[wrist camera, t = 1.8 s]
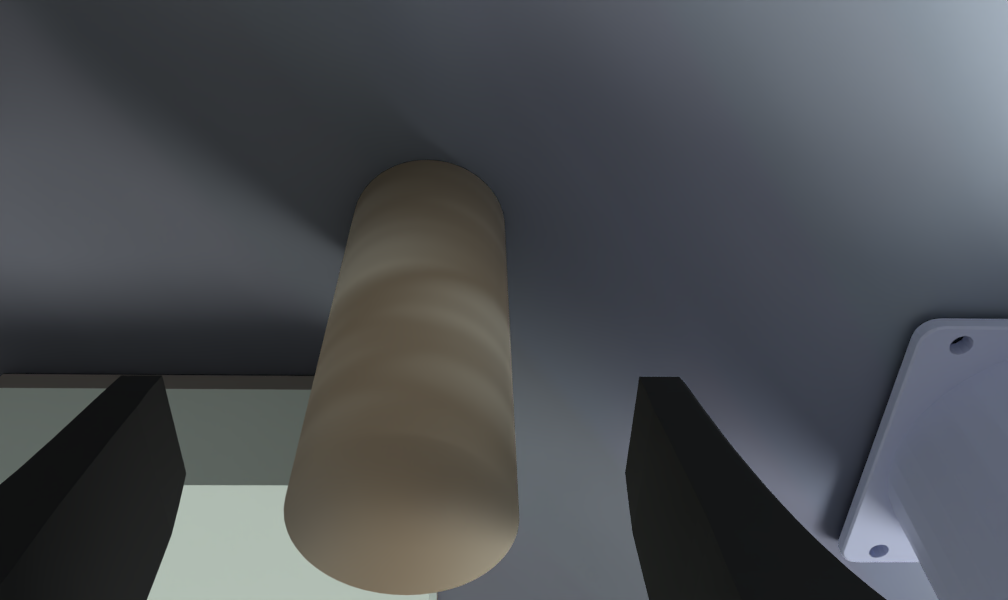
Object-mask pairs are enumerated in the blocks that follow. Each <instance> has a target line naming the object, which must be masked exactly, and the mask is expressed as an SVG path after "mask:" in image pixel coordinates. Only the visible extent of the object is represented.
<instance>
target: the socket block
mask: <svg viewBox="0 0 1008 600" xmlns="http://www.w3.org/2000/svg"><path fill="white" fill-rule="evenodd" d="M120 376H121V375H83V374H2V375H1V377H0V484H1V483H2V482H3V481H5V480H6V479H7V478H8V477H9V476H11V475H12V474H13V473H14V472H16V471H17V470H18V469H19V468H20V467H21V466H22V465H24V464H25V463H26V462H27V461H28V460H29V459H30V458H31V457H32V456H34V455H35V454H36V453H37V452H38V451H39V450H40V449H41V448H43V447H44V446H45V445H46V444H47V443H48V442H49V441H50V440H51V439H53V438H54V437H55V436H56V435H57V434H58V433H59V432H60V431H61V430H62V429H63V428H64V427H65V426H67V425H68V424H69V423H70V422H71V421H72V420H73V419H74V418H75V417H76V416H77V415H78V414H79V413H81V412H82V411H83V410H84V409H85V408H86V407H87V406H88V405H89V404H90V403H91V402H92V401H93V400H95V399H96V398H97V397H98V396H99V395H100V394H101V393H102V392H103V391H104V390H105V389H106V388H108V387H109V386H110V385H111V384H112V383H113V382H114V381H115V380H116V379H118V378H119V377H120ZM162 377H163V381H164V385H165V389H166V393H167V397H168V401H169V405H170V409H171V413H172V417H173V421H174V425H175V429H176V433H177V437H178V441H179V446H180V450H181V454H182V458H183V462H184V466H185V470H186V477H185V482H184V486H183V491H182V495H181V499H180V504H179V508H178V512H177V516H176V520H175V524H174V528H173V532H172V535H171V538H170V541H169V543H168V546H167V549H166V551H165V554H164V557H163V559H162V562H161V565H160V567H159V570H158V572H157V575H156V578H155V580H154V583H153V585H152V588H151V591H150V593H149V596H148V598H147V600H438V592H436V593H429V594H421V595H391V594H383V593H376V592H371V591H366V590H362V589H359V588H356V587H352V586H350V585H347V584H345V583H342V582H340V581H337V580H335V579H334V578H332V577H330V576H328V575H326V574H324V573H323V572H321V571H320V570H319V569H317V568H316V567H314V566H313V565H312V564H311V563H310V562H308V561H307V560H306V559H305V558H304V557H303V556H302V554H301V553H300V552H299V551H298V550H297V548H296V547H295V545H294V544H293V542H292V541H291V539H290V537H289V534H288V532H287V529H286V525H285V522H284V502H285V496H286V492H287V488H288V484H289V480H290V476H291V472H292V468H293V463H294V459H295V455H296V451H297V447H298V443H299V439H300V434H301V430H302V426H303V422H304V418H305V414H306V410H307V406H308V401H309V397H310V393H311V389H312V385H313V381H314V377H315V376H240V375H162Z"/></svg>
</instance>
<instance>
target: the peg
mask: <svg viewBox="0 0 1008 600" xmlns="http://www.w3.org/2000/svg"><path fill="white" fill-rule="evenodd" d="M284 522H285V525H286V529H287V532H288V534H289V537H290V539H291V541H292V542H293V544H294V545H295V547H296V548H297V550H298V551H299V552H300V553H301V554H302V556H303V557H304V558H305V559H306V560H307V561H308V562H310V563H311V564H312V565H313V566H314V567H316V568H317V569H319V570H320V571H321V572H323V573H324V574H326V575H328V576H330V577H332V578H334V579H335V580H337V581H340V582H342V583H345V584H347V585H350V586H352V587H356V588H359V589H362V590H366V591H371V592H376V593H383V594H391V595H421V594H429V593H436V592H440V591H445V590H449V589H452V588H455V587H458V586H461V585H464V584H466V583H468V582H471V581H473V580H475V579H476V578H478V577H480V576H482V575H484V574H485V573H486V572H488V571H489V570H490V569H492V568H493V567H494V566H495V565H496V564H498V563H499V562H500V561H501V560H502V559H503V557H504V556H505V555H506V554H507V552H508V551H509V549H510V548H511V546H512V544H513V542H514V540H515V537H516V534H517V531H518V525H519V505H518V484H517V464H516V444H515V423H514V403H513V383H512V362H511V342H510V322H509V301H508V281H507V260H506V240H505V221H504V216H503V212H502V209H501V206H500V204H499V202H498V200H497V198H496V196H495V195H494V193H493V192H492V190H491V189H490V188H489V187H488V186H487V185H486V184H485V183H484V182H483V181H482V180H481V179H480V178H478V177H477V176H476V175H474V174H473V173H471V172H470V171H468V170H466V169H464V168H462V167H460V166H457V165H454V164H451V163H447V162H442V161H436V160H417V161H411V162H406V163H402V164H399V165H396V166H394V167H392V168H390V169H388V170H386V171H384V172H383V173H381V174H380V175H378V176H377V177H376V178H375V179H373V180H372V181H371V182H370V183H369V185H368V186H367V187H366V188H365V190H364V191H363V192H362V194H361V196H360V198H359V200H358V202H357V205H356V208H355V211H354V215H353V220H352V224H351V228H350V232H349V236H348V240H347V244H346V248H345V253H344V257H343V261H342V265H341V269H340V273H339V277H338V282H337V286H336V290H335V294H334V298H333V302H332V306H331V310H330V315H329V319H328V323H327V327H326V331H325V335H324V339H323V344H322V348H321V352H320V356H319V360H318V364H317V368H316V372H315V377H314V381H313V385H312V389H311V393H310V397H309V401H308V406H307V410H306V414H305V418H304V422H303V426H302V430H301V434H300V439H299V443H298V447H297V451H296V455H295V459H294V463H293V468H292V472H291V476H290V480H289V484H288V488H287V492H286V496H285V502H284Z"/></svg>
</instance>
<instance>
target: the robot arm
mask: <svg viewBox="0 0 1008 600" xmlns="http://www.w3.org/2000/svg"><path fill="white" fill-rule="evenodd" d="M962 336H964V337H963V339H962V340H960V341H959V342H957V343H954V344H951V343H952V342H953V340H955V339H957V338H958V337H962ZM625 474H626V483H627V492H628V500H629V508H630V516H631V523H632V531H633V536H634V540H635V544H636V549H637V553H638V557H639V561H640V565H641V569H642V573H643V577H644V581H645V585H646V589H647V593H648V597H649V600H886V599H885V598H884V597H882V596H881V595H880V594H878V593H877V592H876V591H875V590H873V589H872V588H871V587H869V586H868V585H867V584H866V583H865V582H863V581H862V580H861V579H860V578H859V577H857V576H856V575H855V574H854V573H853V572H852V571H850V570H849V569H848V568H847V567H846V566H845V565H844V564H842V563H841V562H840V561H839V560H838V559H837V558H836V557H835V556H834V555H833V554H831V553H830V552H829V551H828V550H827V549H826V548H825V547H824V546H823V545H822V544H821V543H820V542H818V541H817V540H816V539H815V538H814V537H813V536H812V535H811V534H810V533H809V532H808V531H807V530H806V529H805V528H804V527H803V526H802V525H801V524H800V523H799V522H798V521H797V520H796V519H795V517H794V516H793V515H792V514H791V513H790V512H789V511H788V510H787V509H786V508H785V507H784V506H783V505H782V504H781V503H780V501H779V500H778V499H777V498H776V497H775V496H774V495H773V494H772V493H771V492H770V490H769V489H768V488H767V487H766V486H765V485H764V484H763V483H762V481H761V480H760V479H759V478H758V477H757V476H756V474H755V473H754V472H753V471H752V470H751V468H750V467H749V466H748V465H747V464H746V462H745V461H744V460H743V459H742V458H741V456H740V455H739V454H738V453H737V452H736V450H735V449H734V448H733V447H732V445H731V444H730V443H729V442H728V440H727V439H726V438H725V437H724V435H723V434H722V433H721V431H720V430H719V429H718V427H717V426H716V425H715V423H714V422H713V421H712V420H711V418H710V417H709V416H708V414H707V413H706V412H705V410H704V409H703V407H702V406H701V405H700V403H699V402H698V401H697V399H696V398H695V396H694V395H693V394H692V392H691V391H690V389H689V388H688V387H687V385H686V384H685V383H684V382H683V381H682V380H681V379H680V377H639V384H638V390H637V397H636V404H635V411H634V417H633V424H632V431H631V438H630V445H629V451H628V458H627V465H626V472H625ZM185 477H186V470H185V466H184V462H183V458H182V454H181V450H180V446H179V441H178V437H177V433H176V429H175V425H174V421H173V417H172V413H171V409H170V405H169V401H168V397H167V393H166V389H165V385H164V381H163V377H162V375H121V376H120V377H119V378H118V379H116V380H115V381H114V382H113V383H112V384H111V385H110V386H109V387H108V388H106V389H105V390H104V391H103V392H102V393H101V394H100V395H99V396H98V397H97V398H96V399H95V400H93V401H92V402H91V403H90V404H89V405H88V406H87V407H86V408H85V409H84V410H83V411H82V412H81V413H79V414H78V415H77V416H76V417H75V418H74V419H73V420H72V421H71V422H70V423H69V424H68V425H67V426H65V427H64V428H63V429H62V430H61V431H60V432H59V433H58V434H57V435H56V436H55V437H54V438H53V439H51V440H50V441H49V442H48V443H47V444H46V445H45V446H44V447H43V448H41V449H40V450H39V451H38V452H37V453H36V454H35V455H34V456H32V457H31V458H30V459H29V460H28V461H27V462H26V463H25V464H24V465H22V466H21V467H20V468H19V469H18V470H17V471H16V472H14V473H13V474H12V475H11V476H9V477H8V478H7V479H6V480H5V481H3V482H2V483H1V484H0V600H147V598H148V596H149V593H150V591H151V588H152V585H153V583H154V580H155V578H156V575H157V572H158V570H159V567H160V565H161V562H162V559H163V557H164V554H165V551H166V549H167V546H168V543H169V541H170V538H171V535H172V532H173V528H174V524H175V520H176V516H177V512H178V508H179V504H180V499H181V495H182V491H183V486H184V482H185ZM838 547H839V549H840V552H841V554H842V556H843V557H844V559H846V560H848V561H852V562H920V564H921V566H922V568H923V570H924V572H925V574H926V576H927V578H928V580H929V582H930V584H931V586H932V588H933V590H934V592H935V593H936V595H937V597H938V599H939V600H1008V319H960V318H939V319H932V320H929V321H927V322H925V323H923V324H921V325H920V326H919V327H918V328H917V329H916V330H915V331H914V333H913V335H912V337H911V339H910V342H909V345H908V348H907V351H906V353H905V356H904V359H903V362H902V365H901V367H900V370H899V373H898V376H897V379H896V381H895V384H894V387H893V390H892V392H891V395H890V398H889V401H888V404H887V406H886V409H885V412H884V415H883V418H882V420H881V423H880V426H879V429H878V431H877V434H876V437H875V440H874V443H873V445H872V448H871V451H870V454H869V457H868V459H867V462H866V465H865V468H864V471H863V473H862V476H861V479H860V482H859V484H858V487H857V490H856V493H855V496H854V498H853V501H852V504H851V507H850V510H849V512H848V515H847V518H846V521H845V523H844V526H843V529H842V532H841V535H840V537H839V540H838Z"/></svg>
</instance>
